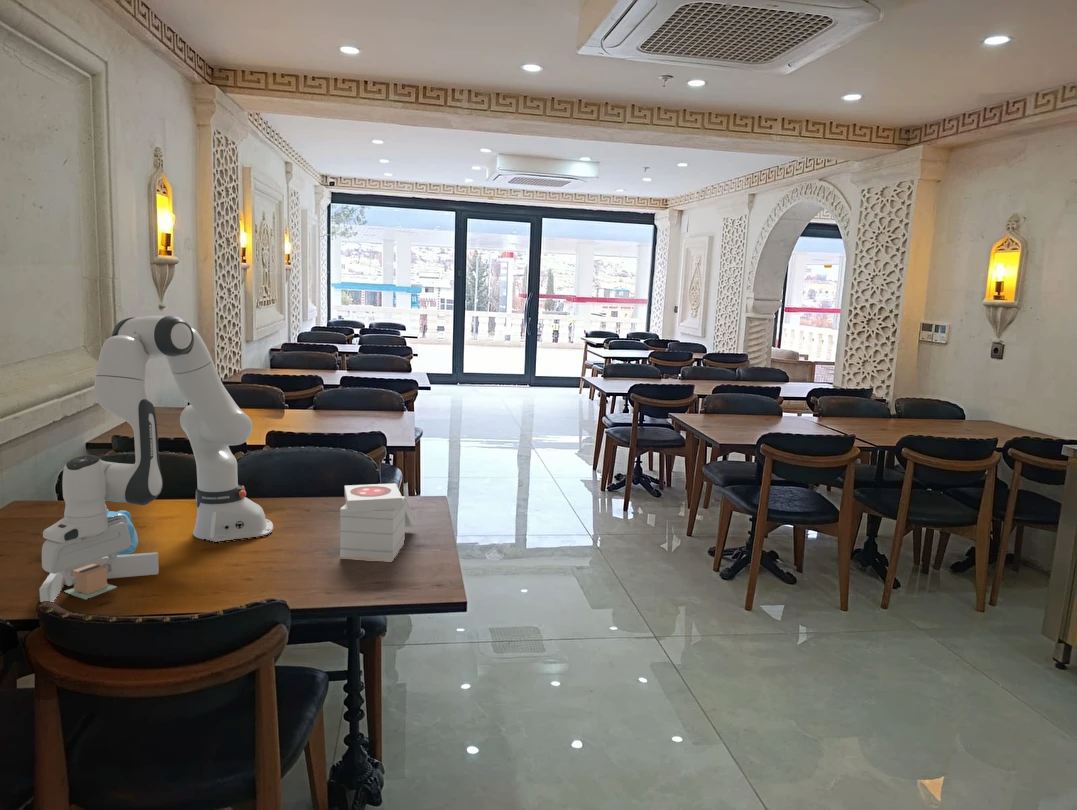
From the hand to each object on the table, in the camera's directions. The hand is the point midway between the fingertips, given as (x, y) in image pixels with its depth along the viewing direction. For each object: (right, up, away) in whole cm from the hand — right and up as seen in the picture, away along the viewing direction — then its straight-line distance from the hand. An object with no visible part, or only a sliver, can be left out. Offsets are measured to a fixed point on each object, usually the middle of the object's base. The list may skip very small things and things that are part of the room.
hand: (90, 577), depth 181 cm
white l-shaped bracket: (+3, -3, +1) cm, 4 cm away
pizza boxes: (+62, 0, +39) cm, 73 cm away
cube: (0, -3, +1) cm, 3 cm away
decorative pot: (-9, 0, +21) cm, 22 cm away
